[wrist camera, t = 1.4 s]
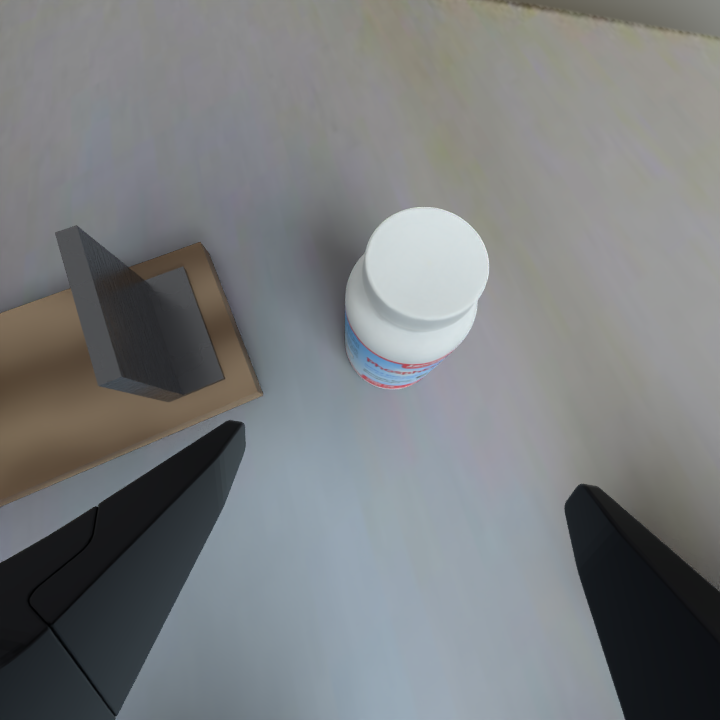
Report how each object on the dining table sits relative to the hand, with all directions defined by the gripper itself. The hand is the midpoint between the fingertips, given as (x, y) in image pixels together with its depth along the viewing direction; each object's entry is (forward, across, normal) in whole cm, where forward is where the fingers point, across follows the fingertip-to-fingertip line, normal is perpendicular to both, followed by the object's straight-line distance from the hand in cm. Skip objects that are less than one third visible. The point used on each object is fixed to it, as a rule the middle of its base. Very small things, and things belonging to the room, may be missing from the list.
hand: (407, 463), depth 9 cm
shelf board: (+10, +19, +8) cm, 23 cm away
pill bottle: (+14, 0, +4) cm, 15 cm away
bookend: (+12, +13, +4) cm, 18 cm away
